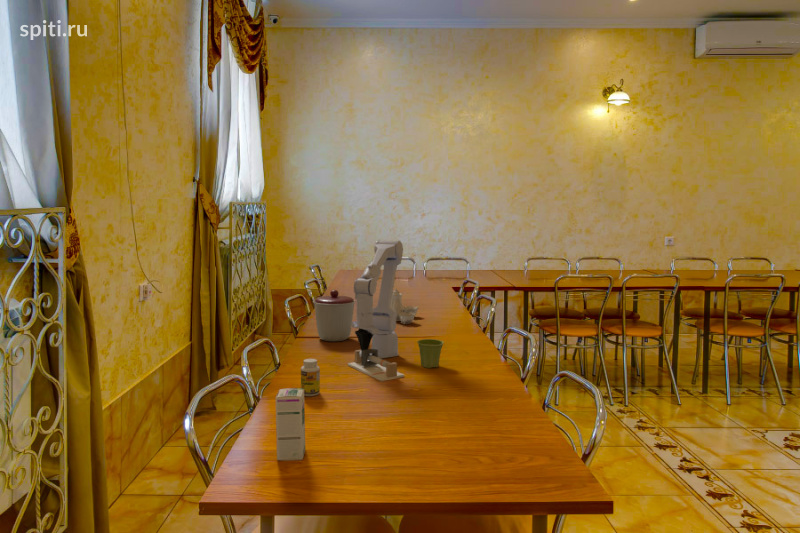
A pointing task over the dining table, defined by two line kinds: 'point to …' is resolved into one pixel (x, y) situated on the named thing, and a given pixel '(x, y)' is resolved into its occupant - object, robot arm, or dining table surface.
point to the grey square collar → (364, 356)
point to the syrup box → (290, 424)
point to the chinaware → (402, 309)
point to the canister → (334, 316)
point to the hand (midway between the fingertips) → (364, 350)
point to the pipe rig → (376, 367)
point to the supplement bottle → (310, 377)
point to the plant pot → (430, 352)
